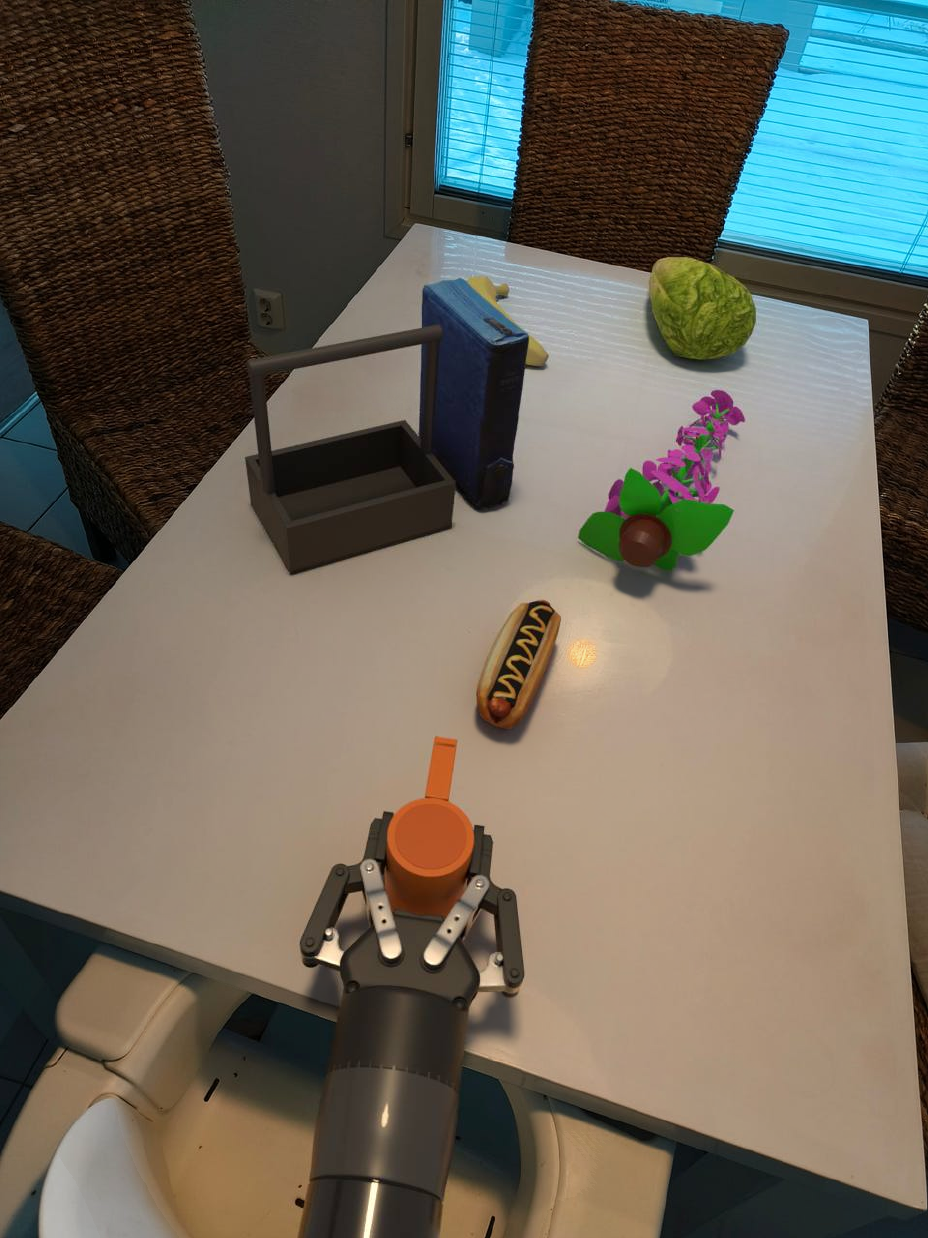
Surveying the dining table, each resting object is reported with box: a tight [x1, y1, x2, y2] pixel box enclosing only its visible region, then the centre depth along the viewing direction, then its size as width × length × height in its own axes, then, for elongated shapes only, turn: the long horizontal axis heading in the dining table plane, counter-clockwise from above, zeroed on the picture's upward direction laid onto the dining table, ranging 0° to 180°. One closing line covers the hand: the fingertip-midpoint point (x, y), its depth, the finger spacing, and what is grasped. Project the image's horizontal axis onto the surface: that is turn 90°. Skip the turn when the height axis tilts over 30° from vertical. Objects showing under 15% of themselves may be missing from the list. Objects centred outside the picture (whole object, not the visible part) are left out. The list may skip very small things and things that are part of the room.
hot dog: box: [475, 599, 562, 730], centre depth 73 cm, size 5×13×5 cm, turn 160°
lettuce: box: [648, 256, 757, 361], centre depth 119 cm, size 12×24×13 cm
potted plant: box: [577, 389, 746, 572], centre depth 92 cm, size 12×16×35 cm
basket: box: [244, 325, 457, 576], centre depth 81 cm, size 18×12×20 cm, turn 119°
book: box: [418, 277, 530, 508], centre depth 88 cm, size 14×5×20 cm, turn 31°
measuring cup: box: [384, 736, 474, 920], centre depth 59 cm, size 10×6×9 cm, turn 173°
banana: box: [465, 275, 550, 367], centre depth 117 cm, size 14×6×20 cm
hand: (432, 824), depth 58 cm, fingers closed on measuring cup, 5 cm apart
